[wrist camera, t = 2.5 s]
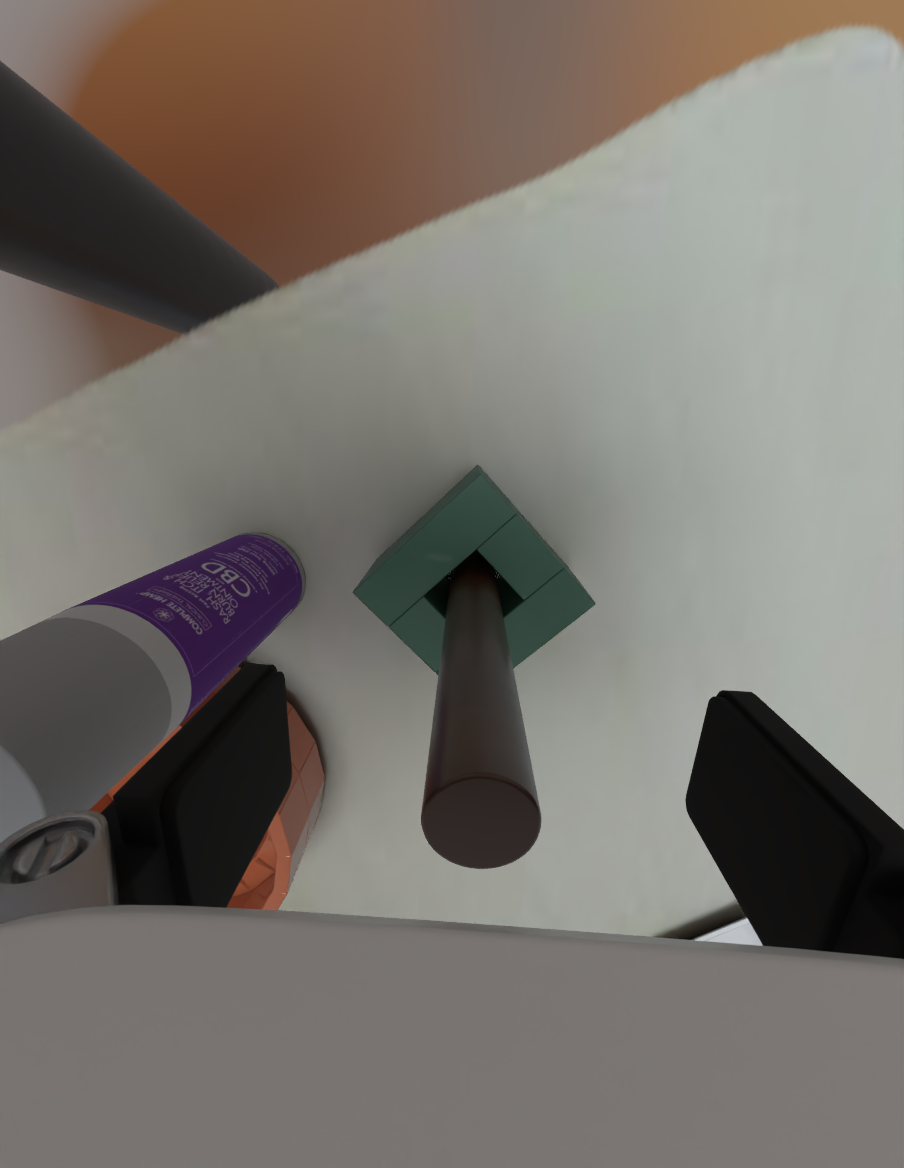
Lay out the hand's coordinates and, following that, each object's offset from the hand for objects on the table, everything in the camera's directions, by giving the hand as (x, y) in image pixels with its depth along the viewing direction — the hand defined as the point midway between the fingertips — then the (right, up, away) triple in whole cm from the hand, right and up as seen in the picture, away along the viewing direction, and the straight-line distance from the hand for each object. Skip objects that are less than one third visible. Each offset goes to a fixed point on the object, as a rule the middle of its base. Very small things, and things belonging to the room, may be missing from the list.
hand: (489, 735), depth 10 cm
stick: (0, +4, +13) cm, 13 cm away
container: (-11, +4, +13) cm, 18 cm away
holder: (0, +4, +13) cm, 13 cm away
